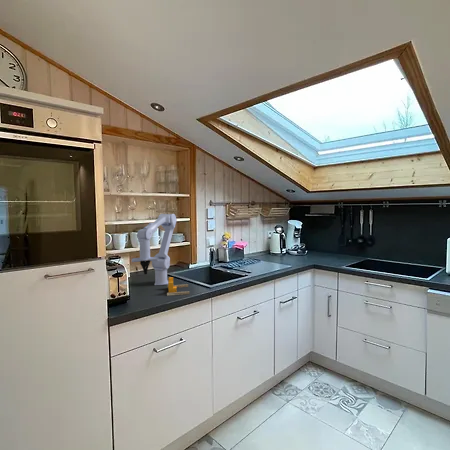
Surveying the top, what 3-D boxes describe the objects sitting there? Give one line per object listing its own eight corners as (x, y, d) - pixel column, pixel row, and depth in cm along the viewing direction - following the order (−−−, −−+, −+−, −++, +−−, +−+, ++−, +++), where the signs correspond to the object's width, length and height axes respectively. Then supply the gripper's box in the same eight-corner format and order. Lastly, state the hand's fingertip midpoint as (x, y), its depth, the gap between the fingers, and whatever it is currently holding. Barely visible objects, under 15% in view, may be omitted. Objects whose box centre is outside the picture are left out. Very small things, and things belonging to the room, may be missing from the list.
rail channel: (167, 287, 178) (167, 285, 177) (188, 286, 179) (188, 284, 179) (167, 295, 162) (166, 293, 162) (189, 294, 164) (189, 292, 164)
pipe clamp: (176, 293, 165) (176, 282, 165) (168, 294, 165) (168, 282, 164) (176, 287, 177) (176, 277, 177) (168, 288, 176) (168, 277, 176)
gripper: (130, 252, 166) (131, 276, 167) (157, 250, 168) (158, 274, 169) (132, 250, 173) (133, 273, 174) (158, 249, 175) (158, 272, 176)
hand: (145, 274), depth 172 cm, fingers closed
